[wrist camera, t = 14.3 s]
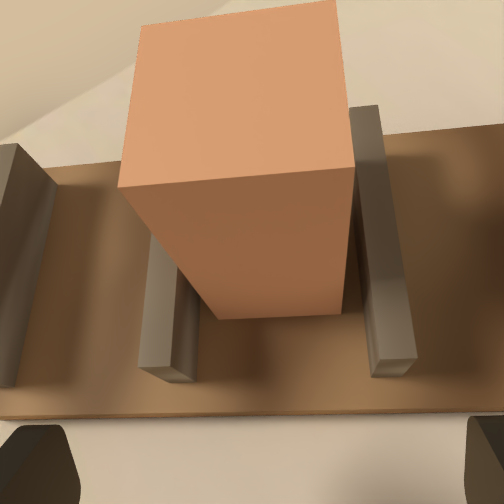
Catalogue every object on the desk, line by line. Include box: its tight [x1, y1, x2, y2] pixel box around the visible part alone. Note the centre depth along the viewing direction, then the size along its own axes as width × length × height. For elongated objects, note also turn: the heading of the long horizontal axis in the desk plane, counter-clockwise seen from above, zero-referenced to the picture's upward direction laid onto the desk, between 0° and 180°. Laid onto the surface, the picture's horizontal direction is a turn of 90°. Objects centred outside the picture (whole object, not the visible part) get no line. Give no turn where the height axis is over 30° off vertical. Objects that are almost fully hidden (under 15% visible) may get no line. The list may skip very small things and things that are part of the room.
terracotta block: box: [117, 0, 355, 320], centre depth 13 cm, size 4×4×9 cm
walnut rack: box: [0, 105, 504, 420], centre depth 17 cm, size 23×11×4 cm, turn 90°
